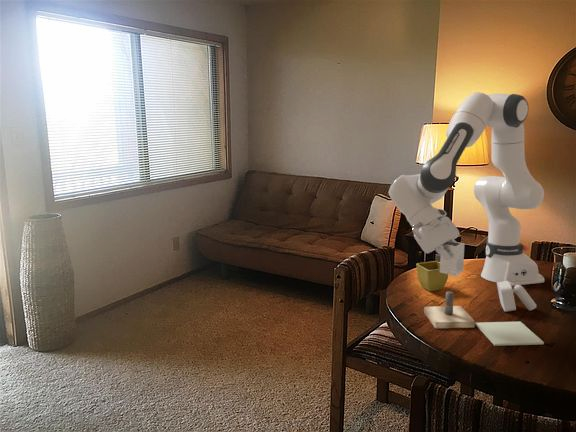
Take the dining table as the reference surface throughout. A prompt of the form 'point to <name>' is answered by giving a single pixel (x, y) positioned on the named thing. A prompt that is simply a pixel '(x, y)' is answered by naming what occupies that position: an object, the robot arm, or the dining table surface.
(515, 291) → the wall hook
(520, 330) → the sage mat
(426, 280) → the flower pot
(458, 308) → the peg stand
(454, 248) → the steel sleeve
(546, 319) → the dining table surface
